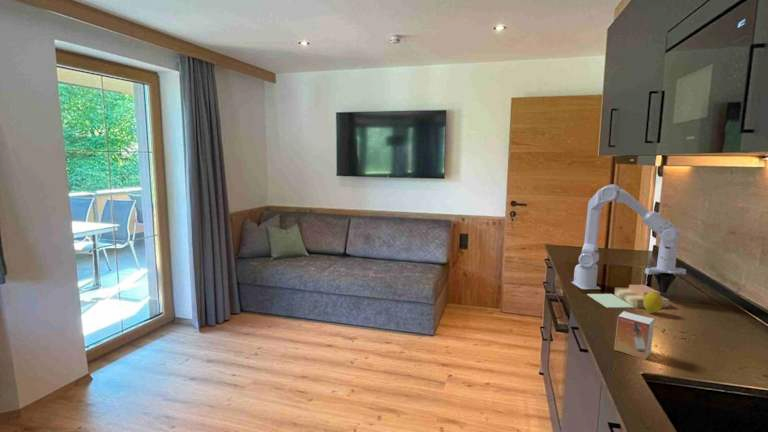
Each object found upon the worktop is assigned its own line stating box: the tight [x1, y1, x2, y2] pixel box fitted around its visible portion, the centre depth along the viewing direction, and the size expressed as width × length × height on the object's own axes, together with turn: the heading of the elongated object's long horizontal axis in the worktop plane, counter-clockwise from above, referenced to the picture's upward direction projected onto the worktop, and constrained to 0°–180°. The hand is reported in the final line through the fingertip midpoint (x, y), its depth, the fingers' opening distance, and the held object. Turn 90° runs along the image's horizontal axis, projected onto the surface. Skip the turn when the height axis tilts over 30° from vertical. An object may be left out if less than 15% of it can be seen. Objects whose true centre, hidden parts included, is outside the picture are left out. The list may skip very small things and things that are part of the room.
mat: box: [586, 293, 635, 309], centre depth 156 cm, size 14×10×1 cm
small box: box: [613, 310, 656, 360], centre depth 115 cm, size 8×6×10 cm
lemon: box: [643, 292, 662, 314], centre depth 144 cm, size 6×6×8 cm
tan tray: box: [613, 287, 670, 309], centre depth 156 cm, size 14×12×3 cm
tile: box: [628, 284, 661, 298], centre depth 156 cm, size 9×6×2 cm, turn 2°
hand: (662, 292), depth 156 cm, fingers closed
